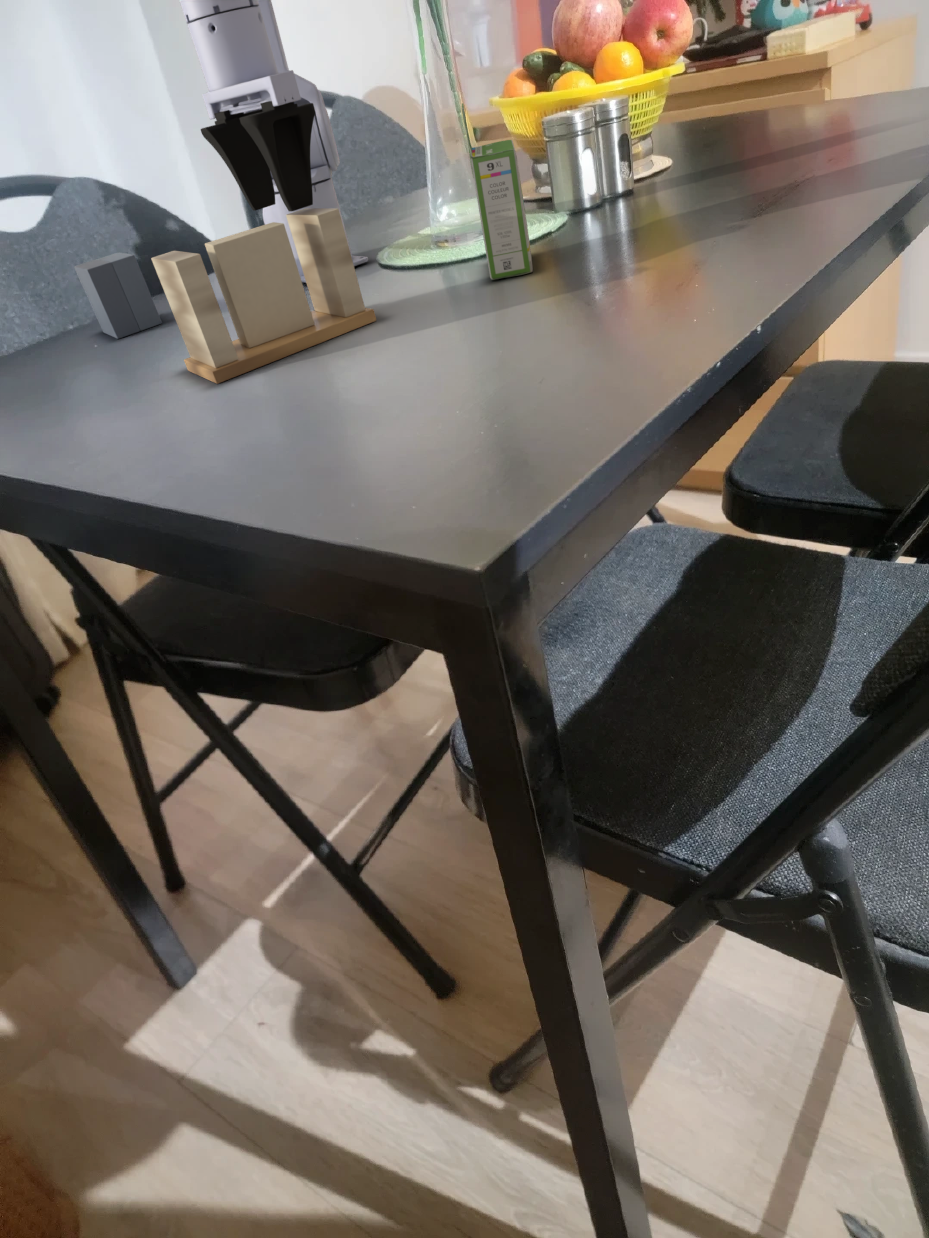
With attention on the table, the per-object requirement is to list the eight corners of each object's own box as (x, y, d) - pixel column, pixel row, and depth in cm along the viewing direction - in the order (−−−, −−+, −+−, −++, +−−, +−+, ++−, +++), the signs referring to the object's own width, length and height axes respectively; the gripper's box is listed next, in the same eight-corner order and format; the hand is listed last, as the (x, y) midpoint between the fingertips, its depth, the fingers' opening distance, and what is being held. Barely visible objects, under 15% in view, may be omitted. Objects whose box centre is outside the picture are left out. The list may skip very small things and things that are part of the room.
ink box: (535, 273, 72) (508, 96, 65) (490, 282, 73) (458, 108, 65) (531, 255, 78) (506, 91, 70) (490, 264, 78) (461, 102, 71)
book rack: (187, 371, 70) (142, 259, 64) (339, 312, 75) (308, 206, 70) (217, 384, 64) (170, 264, 59) (376, 320, 70) (347, 206, 65)
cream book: (249, 348, 67) (212, 245, 63) (240, 344, 69) (204, 243, 65) (315, 325, 69) (284, 223, 65) (304, 321, 71) (273, 222, 67)
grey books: (103, 332, 90) (73, 266, 86) (146, 317, 92) (118, 252, 88) (117, 339, 86) (86, 269, 82) (162, 323, 88) (134, 254, 84)
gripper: (310, -11, 59) (361, 194, 67) (235, 21, 70) (287, 195, 78) (221, 7, 57) (285, 219, 64) (157, 37, 67) (219, 216, 75)
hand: (281, 208), depth 71 cm, fingers open, 7 cm apart
